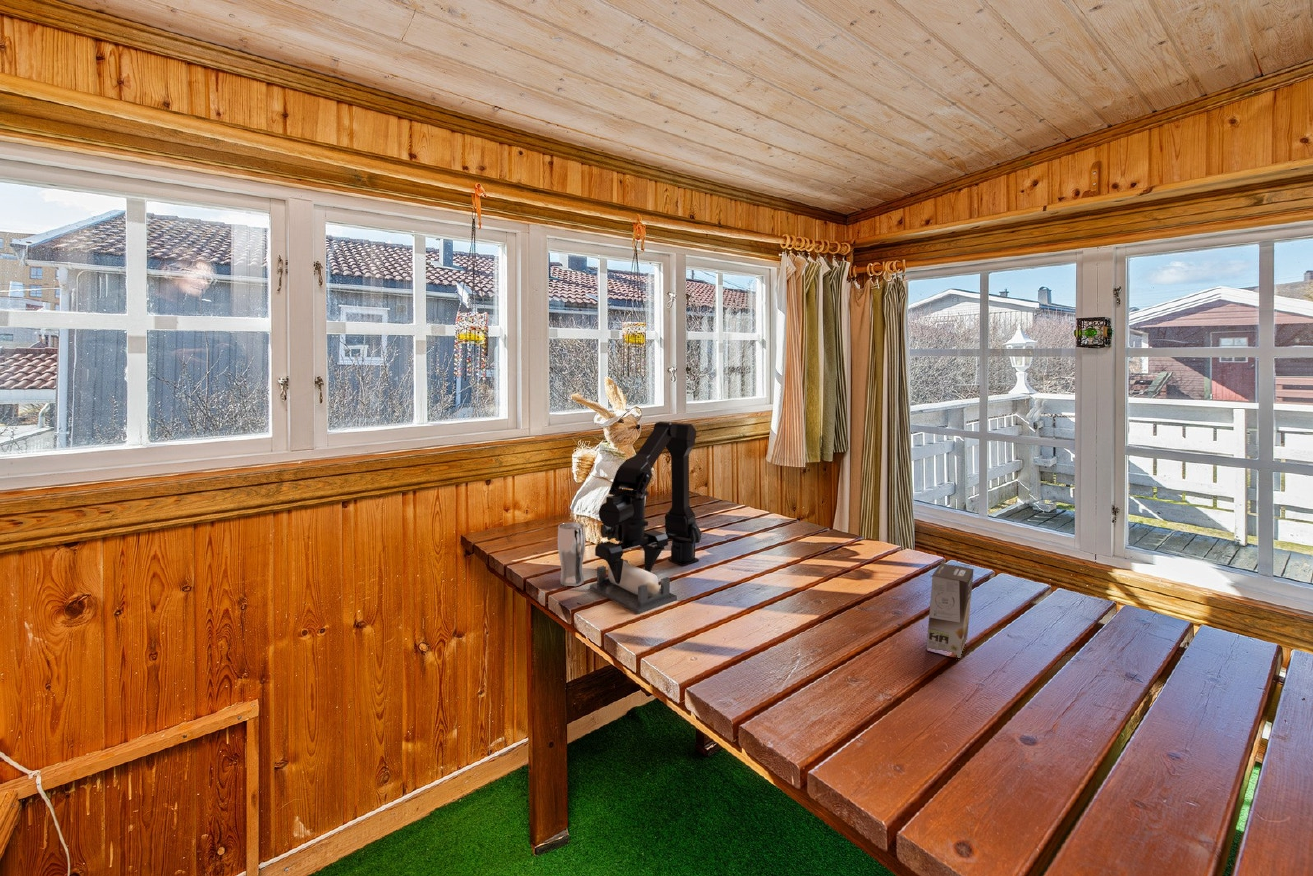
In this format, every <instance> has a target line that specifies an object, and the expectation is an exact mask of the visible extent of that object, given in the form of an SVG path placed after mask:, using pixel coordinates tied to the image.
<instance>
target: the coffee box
mask: <svg viewBox="0 0 1313 876" xmlns="http://www.w3.org/2000/svg"><path fill="white" fill-rule="evenodd" d="M974 570H975V569H974V568H971V567H965V566H960V565H954V564H949V563H948V564H947V563H940V565H938V567H937V568H936V570H934V572H933V574H932V575H931V576H932V577H931V578H932V579H931V591H930V602H929V614H928V627H927V635H926V636H927V638H926V648H927V647H928V648H931V649H935V650H943V651H947V652H952V653H954V654H955V655H957V657H958V658H960V659H961V658H962V655H963V653H962V651H963V652H964V650H963V648H964V645H965V642H966V640H967V641H968V634H969V624H970V612H971V602H972V601H971V600H972V589H973V582H974V581H973V580H974V579H973V578H974ZM964 649H965V648H964ZM961 654H962V655H961Z"/></svg>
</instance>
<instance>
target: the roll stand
mask: <svg viewBox="0 0 1313 876" xmlns="http://www.w3.org/2000/svg"><path fill="white" fill-rule="evenodd" d="M623 561H624V562H627V563H629V562H628V559H624V560H623ZM670 579H671V578H670V577H666V576H665V577H663V578H660V589H659V592H658V593H657V594H654V595H652V596H649V597H647V585H645V584H644V585H641V586H638V595H636V594H634V593H632V592H630V591H628V590H626V589H624V588H622V587H620V586H618V585H616V584H613V583H612V582H610V580H609V578H608V576H607V567H606V566H605V565H601V566H597V568H596V582H595V583H592V584H589V590H591V591H592V592H595V593H597V594H599V595H601V596H602V597H605V598H607V599H609V600H611V601H612V602H614V603H616V604H619V605H620V606H623V607H624V608H627V610H630V611H632V612H634V613H636V614H637V615H639V614H642V613H645V612H648V611H651V610H653V609H657V608H659V607H661V606H665V605H666V604H669V603H672V602H675V601H677V600H678V596H677V595H676V594H673V593H671V592H670V588H671V586H670V583H671V580H670Z"/></svg>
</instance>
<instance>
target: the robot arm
mask: <svg viewBox="0 0 1313 876" xmlns="http://www.w3.org/2000/svg"><path fill="white" fill-rule="evenodd" d="M696 439H697V430H696V428H695V427H694V426H693V424H691V423H685V422H684V423H683V422H682V423H681V422H671V421H657V422H655V424H654V425H653V430H652V431H651V433H650V434H649V435H648V437H647V438H646V440H645V441H644V442H643V444H642V445H641V447H640V448H639V450H638V452H636V454H635V455H634V456H632V457H630V458H626V459H625V461H623V462H622V463H621V464H620V465H619V467H618V468H617V470H616V472H615V475H614V478H613V480H612V484H611V486H610V488H609V492H608V496H606V498H605V502H603V503H602V505H600V507H599V510H598V517H599V520H600V522H601V523H602V524H601V525H600V536H601V537H602V538H607V541H605V542H601V543H598V544H596V546H595V547H594V556H595V557H598V558H600V559H602V560H604V561H606V563H607V565H608V567H609V566H610V569H611V571H612V574H613V577H614V579H615V582H616V583H617V584H619V583H620V580H621V574H622V567H623V560H625V559H624V558H622V557H623V556H624V552H625V551H626V552H627V551H629V550H632V549H636V548H640V547H641V548H642V549H643V556H644V570H645V571H648V572H650V573H651V571H652V569H653V567H654V565H655V563H656V562H657V560H658V557H659V556H660V555H661V553H662V551H664V550H665V547H666V546H669V540H670V541H671V547H670V557H668V558H667V561H670V562H672V563H674V564H678V565H681V566H683V567H684V566H687V565H690V564H694V563H697V562H700V559H699V558H697V557H696V544H699V543H700V542H701V540H702V530H701V529H700V527H699V526H698V523H697V521H696V514H695V512H694V511H693V509H692V507H691V506H690V454H691V453H692V451H693V450H694V447H695V446H696V445H695V444H696ZM664 449H666V450H667V451H668V454H669V455H670V457H671V458H670V469H671V470H670V473H671V475H670V479H671V480H670V481H671V507H670V509H669V510H668V511H667V513H665V515H664V530H665V532H661V531H658V530H656V529H652V530H649V531H648V530H647V531H645V527H647V526H649V521H648V520H645V519H646V517H645V516H646V515H645V513H646V508H645V507H646V506H645V505H646V503H645V502H646V501H645V500H646V497H647V496H649V495H650V493H649V491H648V490H647V488H648V487H649V485H650V482H651V480H652V477H653V471H652V469H653V467H654V465H655V463H656V461H658V458H659V457H660V456H661V454H662V453H663V451H664ZM612 539H615V541H617V542H620V543H615V542H613V541H612Z"/></svg>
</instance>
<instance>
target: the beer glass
mask: <svg viewBox="0 0 1313 876" xmlns="http://www.w3.org/2000/svg"><path fill="white" fill-rule="evenodd" d="M557 527H558V528H557V551H558V557H559V561H560V567H561V571H560V580H559V584H560V585H561V584H562V586H563V585H564V587H567V586H574V587H578V586H580V585H582V584H584V583H585V582H584V581H585V580H584V574H583V564H584V563H583V562H584V557H585V551H586V531H585V530H586V529H585V524H584V523H581V522H577V521H576V522H574V521H570V522H563V523H559V524H558V526H557Z"/></svg>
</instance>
